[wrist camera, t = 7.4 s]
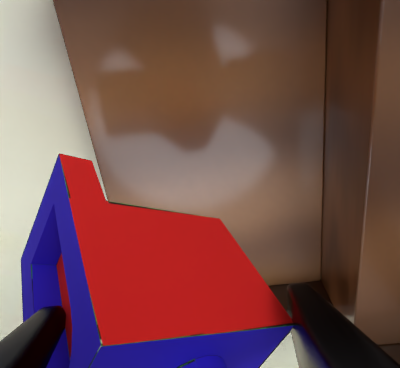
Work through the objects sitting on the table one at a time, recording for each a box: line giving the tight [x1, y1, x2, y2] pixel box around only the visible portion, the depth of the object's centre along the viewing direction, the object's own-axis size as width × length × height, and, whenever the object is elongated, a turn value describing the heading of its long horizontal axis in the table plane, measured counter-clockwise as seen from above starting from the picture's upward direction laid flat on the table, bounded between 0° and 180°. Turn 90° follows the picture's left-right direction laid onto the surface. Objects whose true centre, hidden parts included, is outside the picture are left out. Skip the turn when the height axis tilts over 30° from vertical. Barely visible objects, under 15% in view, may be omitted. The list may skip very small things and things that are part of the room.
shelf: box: [53, 0, 400, 364], centre depth 14 cm, size 19×16×10 cm
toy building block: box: [21, 154, 293, 368], centre depth 7 cm, size 4×4×8 cm
